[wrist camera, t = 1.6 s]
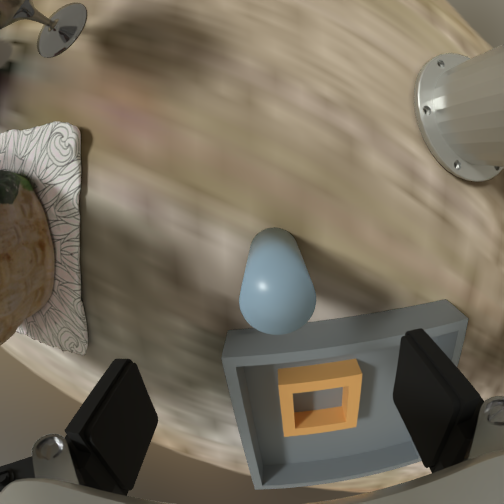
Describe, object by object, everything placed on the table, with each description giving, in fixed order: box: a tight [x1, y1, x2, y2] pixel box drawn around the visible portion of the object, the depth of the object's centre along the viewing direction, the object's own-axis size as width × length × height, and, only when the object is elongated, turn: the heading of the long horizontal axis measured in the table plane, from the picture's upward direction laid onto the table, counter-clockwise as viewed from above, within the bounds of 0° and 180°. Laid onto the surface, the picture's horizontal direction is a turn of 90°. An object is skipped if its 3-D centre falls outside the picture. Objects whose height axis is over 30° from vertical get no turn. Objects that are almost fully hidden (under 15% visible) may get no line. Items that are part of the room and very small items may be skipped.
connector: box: [239, 228, 316, 335], centre depth 20 cm, size 4×4×10 cm
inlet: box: [278, 359, 362, 437], centre depth 27 cm, size 8×8×2 cm
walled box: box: [221, 299, 468, 489], centre depth 27 cm, size 22×22×4 cm
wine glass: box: [0, 0, 87, 58], centre depth 13 cm, size 8×8×15 cm
